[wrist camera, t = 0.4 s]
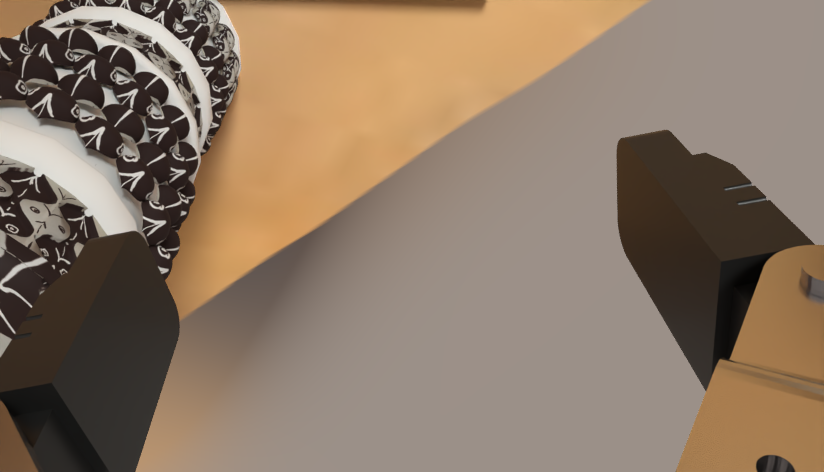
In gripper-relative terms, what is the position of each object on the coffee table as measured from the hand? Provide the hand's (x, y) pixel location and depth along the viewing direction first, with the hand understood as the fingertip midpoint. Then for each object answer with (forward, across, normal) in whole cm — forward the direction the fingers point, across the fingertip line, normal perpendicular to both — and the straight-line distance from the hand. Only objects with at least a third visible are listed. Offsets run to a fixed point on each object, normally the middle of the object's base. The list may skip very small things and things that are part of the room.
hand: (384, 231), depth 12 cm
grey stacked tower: (+26, +12, +3) cm, 29 cm away
